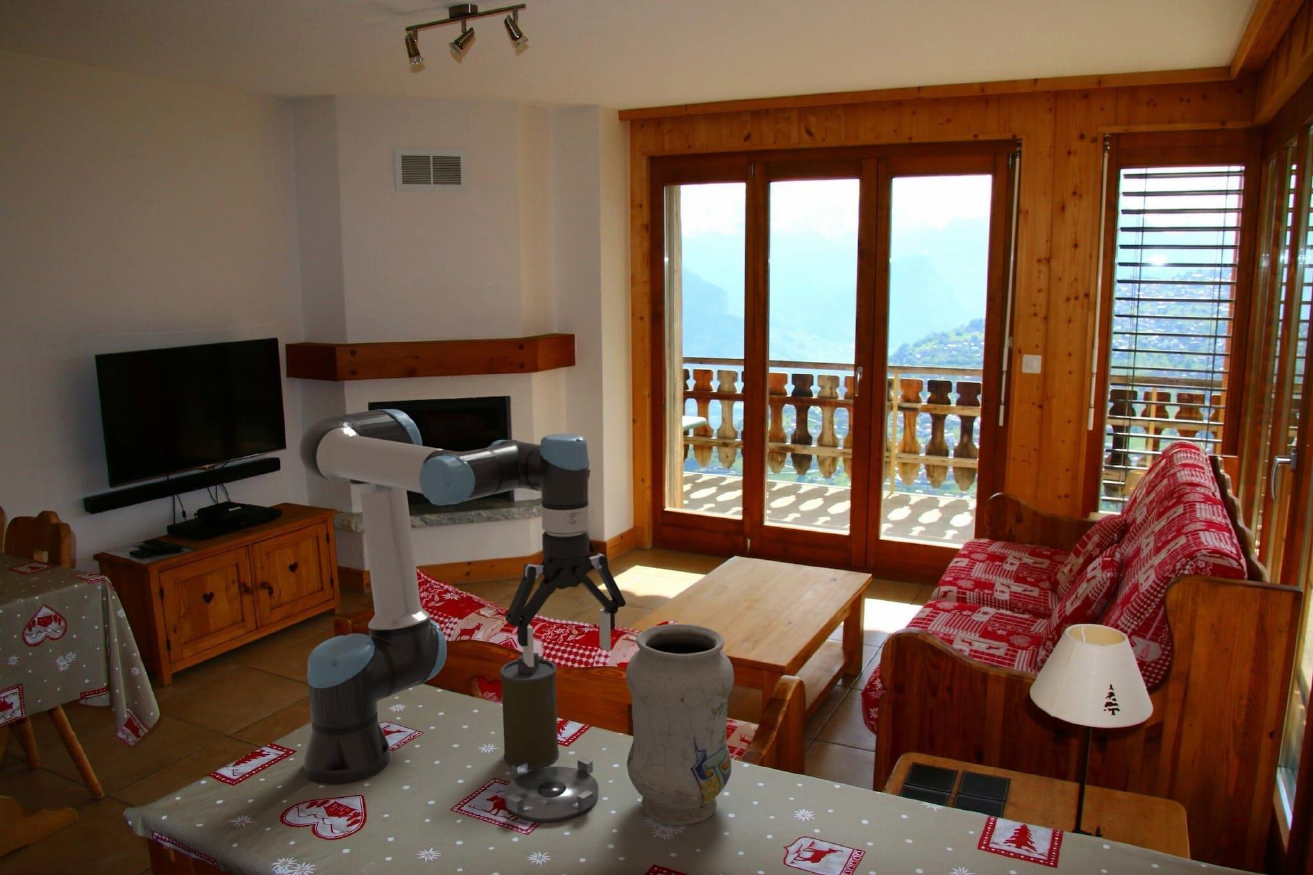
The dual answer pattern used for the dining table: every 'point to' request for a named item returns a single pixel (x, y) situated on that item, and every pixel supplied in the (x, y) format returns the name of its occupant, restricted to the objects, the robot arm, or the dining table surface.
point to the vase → (679, 721)
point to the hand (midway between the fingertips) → (567, 656)
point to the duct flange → (551, 792)
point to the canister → (530, 712)
